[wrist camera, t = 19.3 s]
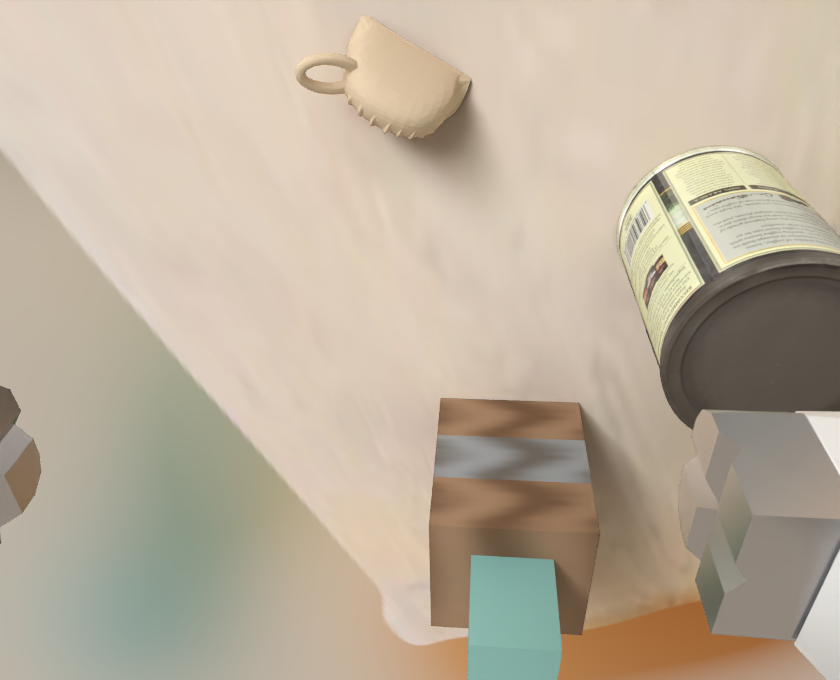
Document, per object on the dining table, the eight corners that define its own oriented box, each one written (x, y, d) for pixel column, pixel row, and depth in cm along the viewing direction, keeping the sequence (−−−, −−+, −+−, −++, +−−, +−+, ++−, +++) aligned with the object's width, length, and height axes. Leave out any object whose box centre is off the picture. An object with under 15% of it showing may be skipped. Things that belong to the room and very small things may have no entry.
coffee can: (791, 284, 44) (898, 435, 33) (623, 311, 46) (668, 462, 35) (798, 124, 39) (929, 237, 27) (607, 163, 41) (654, 284, 29)
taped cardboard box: (578, 403, 51) (600, 533, 41) (565, 499, 57) (581, 635, 47) (440, 398, 52) (429, 525, 42) (441, 494, 57) (431, 625, 48)
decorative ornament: (436, 142, 41) (429, 175, 37) (307, 63, 39) (284, 89, 35) (473, 80, 39) (472, 108, 35) (340, -5, 37) (320, 13, 33)
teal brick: (553, 559, 43) (562, 651, 38) (546, 609, 46) (553, 701, 41) (471, 554, 43) (468, 645, 38) (469, 605, 46) (466, 695, 41)
